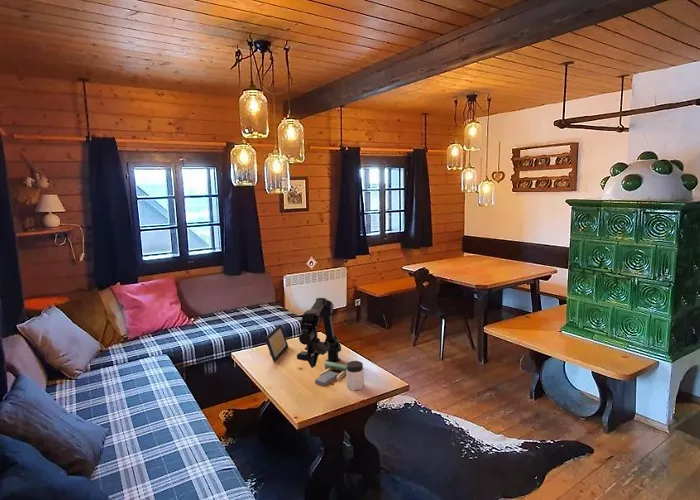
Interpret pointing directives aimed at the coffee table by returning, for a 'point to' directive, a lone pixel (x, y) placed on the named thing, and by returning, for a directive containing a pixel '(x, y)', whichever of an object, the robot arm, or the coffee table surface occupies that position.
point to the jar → (355, 375)
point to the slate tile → (326, 378)
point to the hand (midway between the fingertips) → (313, 367)
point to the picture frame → (276, 343)
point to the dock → (331, 365)
